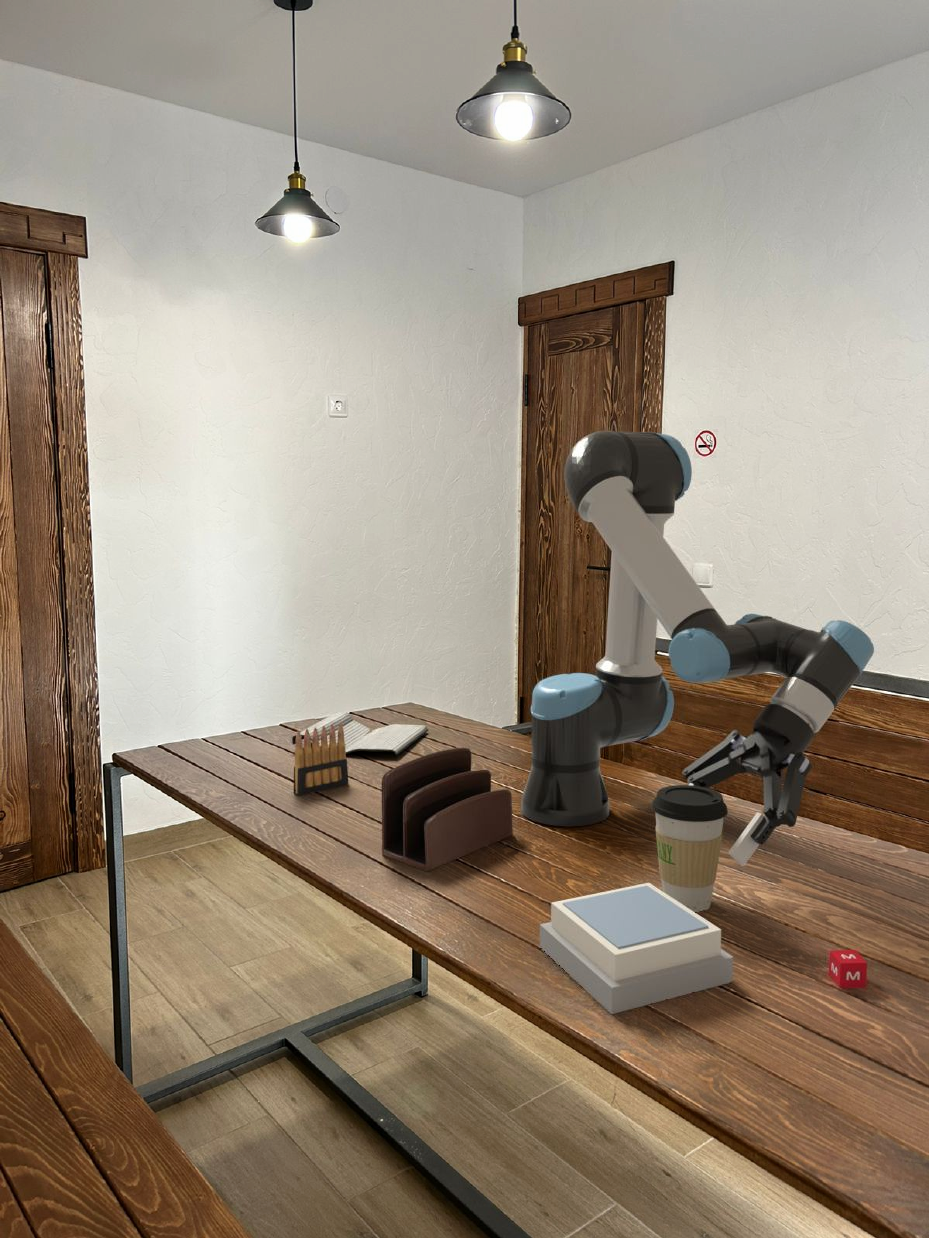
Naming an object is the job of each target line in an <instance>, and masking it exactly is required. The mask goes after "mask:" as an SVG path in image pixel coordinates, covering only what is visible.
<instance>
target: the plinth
mask: <svg viewBox="0 0 929 1238" xmlns="http://www.w3.org/2000/svg"><path fill="white" fill-rule="evenodd" d="M550 918H551V919H550V921H549V922H544V923H540V924H539V948H542V949H541V951H542V952H544V951H545V952H544V954H546V955H547V956H548V955H549V956H550V957H549V956H548V957H549V958H550V959H551V958H552V959H553V960H554V961H555V962H554V961H553V960H552V959H551V960H552V961H553V962H554V963H556V965H557V966H559V965H560V966H559V967H560V968H561V969H562V968H563V969H564V970H565V971H564V970H563V969H562V970H563V971H564V972H565V973H566V972H567V973H568V974H569V976H570V978H571V979H572V980H574V981H575V980H576V981H575V982H576V983H577V982H578V983H577V984H578V985H579V986H580V985H581V986H582V987H583V988H582V987H581V986H580V987H581V988H582V989H583V990H585V991H586V992H587V993H588V994H589V995H590V996H591V997H592V998H593V999H595V1001H596V1002H597V1003H598V1004H600V1005H601V1006H602V1007H603V1008H604V1010H606V1011H607V1012H608V1013H609V1014H610V1015H614V1014H619V1013H622V1012H626V1011H629V1010H633V1009H636V1008H641V1007H644V1006H649V1005H651V1003H652V1004H655V1003H660V1002H663V1001H667V1000H670V999H674V998H677V997H678V996H679V997H681V996H682V997H683V996H685V995H689V994H693V993H692V992H694V993H696V992H700V991H701V992H702V991H704V990H708V989H713V988H717V987H720V986H723V984H724V985H726V984H730V982H731V983H733V981H734V980H733V978H734V977H733V976H734V971H733V970H734V956H732V955H731V954H730V953H728V952H726V951H725V950H724V949H723V948H722V929H721V928H719V927H718V926H716V925H715V924H713V923H712V922H710V921H708V920H707V919H706V918H704V917H702V916H701V915H699V914H698V913H695V912H693V911H692V910H690V909H689V908H687V907H686V906H684V905H682V904H681V903H679V902H678V901H676V900H675V899H673V898H672V897H670V896H669V895H667V894H666V893H664V892H663V891H662V890H661V889H659V888H657V886H655V885H653V884H652V883H650V882H646V883H641V884H637V885H631V886H626V887H621V888H616V889H612V890H607V891H602V892H597V893H593V894H592V893H591V894H587V895H583V896H578V897H577V896H576V897H573V898H568V899H563V900H559V901H552V902H551V904H550ZM567 973H566V974H567ZM568 974H567V975H568ZM666 999H667V1000H666Z"/></svg>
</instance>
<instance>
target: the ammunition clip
mask: <svg viewBox="0 0 929 1238" xmlns="http://www.w3.org/2000/svg"><path fill="white" fill-rule="evenodd" d="M305 729H306V731H305V736H304V739H303V740H302V738H301V734H300V732H301V731H300V730H299V729H298V730H297V731H296V734H295V735H296V744H295V747H294V749H295V750H294V766H293V794H295V795H296V796H299V797H300V796H305V795H309V794H314V793H318V792H322V791H328V790H331V789H337V788H341V787H344V786H349V785H350V784H349V771H348V770H349V769H348V758H347V757H346V756H347V754H346V750H345V742H344V731H343V726H342V724H341V723H340V724H339V727H338V742H337V744H336V734H335V729H334V726H333V724H332V725H331V727H330V734H329V748H328V741H327V732H326V728H325V726H323V728H322V731H321V746H319V735H318V731H317V728H316V727H315V728H314V731H313V742H312V740H310V734H309V731H308V729H307V728H305ZM311 742H312V743H311Z"/></svg>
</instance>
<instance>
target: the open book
mask: <svg viewBox="0 0 929 1238" xmlns="http://www.w3.org/2000/svg"><path fill="white" fill-rule="evenodd" d="M340 723H341V724H342V726H343V731H344V742H345V750H346V755H348V754H350V753H353V752H359V751H363V752H373V753H374V752H393V753H394V754H395V755H399V754H400V753H401V752H402V751H404V750H405V749H406V748H408V747H409V746H410V745H411V744H413V743H414V742H415V741H417V740H418V739H419V738H421V737H422V736H423V735H426V734H427V732H428V731H429V728H428V727H427V726H426V725H424V724H423V725H422V724H421V725H419V724H396V723H393V724H389V725H386V726H383V727H379V728H375V729H373V730H372V731H371V728H369V727H368V726H366V725H364V724H362V723H360V722H358V721H356V720H354V718H353V717H352V716H351V715H350V714H349V713H348V712H344V711H343V712H338V711H337V712H335V713H333V714H330V715H329V716H328V717H325V718H324V719H322V720H320V721H318V722H317V723H314V724H313V725H310V726H309V727H307V728H305V729H303V730H301V731H300V734H301V738H302V741H304V736H305V731H306V729H308V731H309V734H310V740H311V742H313V731H314V728H315V727H316V728H317V731H318V735H319V746H321V731H322V728H323V726H325V728H326V732H327V741H328V748H329V734H330V727H331V725H332V724H333V726H334V729H335V734H336V744H337V742H338V727H339V724H340ZM368 732H369V733H368ZM291 744H292V745H296V734H295V735H292V737H291ZM395 759H398V756H396V757H395Z"/></svg>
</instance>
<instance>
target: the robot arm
mask: <svg viewBox="0 0 929 1238" xmlns="http://www.w3.org/2000/svg"><path fill="white" fill-rule="evenodd" d="M692 474H693V472H692V463H691V459H690V456H689V454H688V451H687V450H686V448H685V447H684V446H683V445H682V443H681V442H680V441H679V440H678V439H677V438H675V437H674V436H672V435H668V434H665V433H657V432H652V431H648V432H647V431H645V432H644V431H639V432H638V431H614V430H599V431H596V432H592V433H589V434H587V435H586V436H585V435H584V436H583V438H581V439H580V440H579V441H577V443H575V444H574V446H573V447H572V449H570V452H569V454H568V456H567V459H566V461H565V466H564V471H563V477H564V478H563V479H564V485H565V490H566V493H567V495H568V498H569V500H570V502H571V504H572V506H573V507H574V510H575V511H576V513H578V515H579V517H580V518H581V520H583V521H585V522H588V523H592V524H593V525H594V527H595V528H596V530H597V531H598V533H599V535H600V536H601V538H603V540H604V541H605V543H606V544H607V546H608V548H609V549H610V551H611V560H610V575H609V576H610V577H609V589H608V590H609V592H608V604H607V605H608V606H607V607H608V608H607V625H606V637H605V638H606V640H605V641H606V642H605V655H604V657H602V659H600V660H599V661H598V662H597V663H596V665H595V675H594V674H591V673H583V672H573V673H569V674H568V673H561V674H556V675H552V676H549V677H545V678H543V679H542V680H540V681H539V682H538V683H537V684H535V686H534V688H533V691H532V696H531V697H532V698H531V699H532V700H531V705H530V712H531V768H530V771H529V774H528V777H527V781H526V784H525V787H524V790H523V793H522V795H521V802H520V803H521V810H520V811H521V814H522V815H523V816H524V817H525V818H527V819H529V820H530V821H533V822H536V823H538V824H544V825H549V826H554V827H555V826H557V827H583V826H589V825H594V824H598V823H600V822H603V821H605V820H606V819H607V818H608V817H609V816H610V798H609V795H608V791H607V789H606V786H605V783H604V779H603V776H602V772H601V767H600V765H601V764H600V759H601V748H604V747H605V748H606V747H609V746H615V745H619V744H620V745H621V744H625V743H632V742H641V741H643V740H646V739H648V738H651V737H654V736H656V735H659V734H660V733H662V732H663V731H664V730H665V729H666V727H668V725H669V723H670V721H671V718H672V716H673V712H674V704H675V698H674V693H673V691H672V690H670V688H671V686H670V685H671V684H670V683H669V681H668V680H667V679H666V678H665V677H664V676H663V668H662V667H661V665H659V663H658V662H656V659H655V657H656V655H655V654H656V643H657V629H658V626H657V625H658V622H659V623H660V625H661V626H662V627H663V628H664V631H666V633H667V635H668V636H669V638H670V639H671V641H670V642H669V643H670V644H669V646H668V659H670V667H671V669H672V671H673V673H674V674H675V676H677V677H678V678H679V679H681V680H682V681H684V682H687V683H690V684H691V683H692V684H701V683H707V684H708V683H711V684H712V683H715V682H719V681H723V680H727V679H731V678H736V677H737V678H738V677H747V676H752V675H760V674H765V673H771V674H776V675H779V676H781V677H784V678H785V679H784V681H783V682H782V683H781V684H780V686H779V687H778V688H777V690H776V691H775V692H774V693H773V695H772V696H771V697H770V700H769V702H770V703H768V704H766V705H765V706H764V708H763V709H762V710H761V711H760V713H759V714H758V715H757V717H756V718H755V720H754V721H753V723H752V724H753V725H752V726H753V730H752V733H751V734H750V735H748V736H747V737H745V736H743V735H742V734H741V733H740V732H739V731H738V730H737V729H734V730H732V731H731V732H730V733H729V734H728V735H727V736H726V738H725V739H724V740H723V741H721V742H720V743H718V744H717V745H716V746H714V747H713V748H711V749H710V750H709V751H708V752H706V753H705V754H703V755H702V756H701V757H699V758H698V759H696V760H695V761H693V762H692V763H691V764H690V765H688V766H687V767H685V768H684V769H683V770H682V772H681V774H682V775H683V776H684V777H685V779H686V781H687V783H686V784H685V785H692V786H700V787H705V788H709V789H710V788H711V787H714V786H715V785H717V784H720V783H722V782H723V781H726V780H728V779H730V778H732V777H734V776H736V775H738V774H741V775H743V774H746V773H749V774H751V775H757V776H759V777H760V778H762V779H763V780H762V784H763V808H761V809H760V811H761V812H762V813H760V812H756V813H755V815H754V816H753V818H752V819H751V820H750V822H749V823H748V824H747V826H746V827H745V828H744V830H743V831H742V832H741V834H740V835H739V837H738V838H737V839H736V841H735V842H734V844H733V845H732V846H731V848H730V849H729V850H728V852H727V854H729V856H730V857H732V859H733V860H734V861H735V862H736V863H738V866H739V865H740V867H744V866H745V865H746V864H747V862H748V861H749V860H750V859H751V857H752V856H753V854H754V853H755V852H756V850H757V848H758V847H759V846H762V845H764V844H765V843H766V842H767V840H768V839H769V838H770V836H771V834H773V832H774V831H775V829H776V828H777V827H779V826H782V825H784V826H785V825H786V826H787V827H789V828H793V827H794V826H796V824H797V819H798V815H799V810H800V805H801V802H802V801H801V800H802V796H803V791H804V786H805V783H806V778H807V776H808V774H809V773H810V771H811V769H812V767H813V763H812V762H811V761H810V760H809V758H807V757H806V756H805V754H804V752H805V751H806V750H807V748H808V747H809V746H810V744H811V743H812V741H813V740H814V739H815V733H818V732H819V731H820V730H821V728H822V727H823V726H824V724H825V723H826V722H827V720H828V719H829V718H830V717H831V715H832V713H834V711H835V709H836V708H837V707H838V704H839V703H840V702H841V700H842V699H843V698H844V696H845V695H846V694H847V692H848V691H849V690H850V688H852V686H853V685H854V684H855V682H857V680H858V678H860V676H862V674H863V672H864V670H865V668H866V667H867V665H868V663H869V662H870V660H871V659H872V658H873V655H874V653H875V647H874V644H873V642H872V639H871V638H870V637H869V636H868V635H867V634H866V632H865V631H863V630H862V629H861V628H859V626H858V627H857V625H855V624H852V623H850V622H848V621H845V620H842V619H841V620H840V619H837V620H830V621H829V622H827V623H826V624H825V625H824V627H822V628H821V629H820V631H816V630H812V629H807V628H805V627H800V626H797V625H795V624H792V623H788V622H785V621H781V620H779V619H777V618H774V617H772V616H768V615H760V614H756V613H749V614H748V613H746V614H745V615H743V616H742V618H740V619H739V620H738V619H737V621H735V622H734V624H727V623H726V622H725V620H724V619H723V618H722V617H721V615H720V614H719V613H718V611H717V610H716V608H715V607H714V606H713V604H712V602H711V601H710V600H709V598H708V597H707V596H706V595H705V593H704V592H703V590H702V589H701V588H700V587H699V585H698V583H697V582H696V581H695V579H694V578H693V577H692V575H691V574H690V572H689V571H688V569H687V568H686V566H685V565H684V564H683V563H682V562H681V560H680V558H679V557H678V555H677V554H676V553H675V552H674V550H673V549H672V547H671V545H670V544H668V542H667V540H666V539H665V538H664V533H665V524H666V522H667V521H669V520H670V519H671V518H672V517H673V516H674V515H675V506H676V502H677V501H678V500H680V499H681V498H682V497H684V495H685V492H686V491H689V488H690V486H691V481H692V476H693V475H692ZM785 769H786V773H785V776H784V773H783V772H784V770H785ZM783 776H784V777H783ZM782 785H783V786H782ZM763 814H764V815H763Z"/></svg>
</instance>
